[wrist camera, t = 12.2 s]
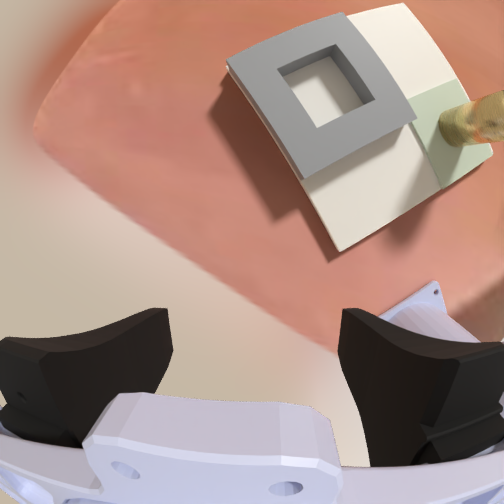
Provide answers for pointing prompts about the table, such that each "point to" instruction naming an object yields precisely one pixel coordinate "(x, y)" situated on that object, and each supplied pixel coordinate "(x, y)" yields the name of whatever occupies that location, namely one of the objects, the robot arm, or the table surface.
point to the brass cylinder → (474, 121)
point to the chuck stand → (358, 115)
